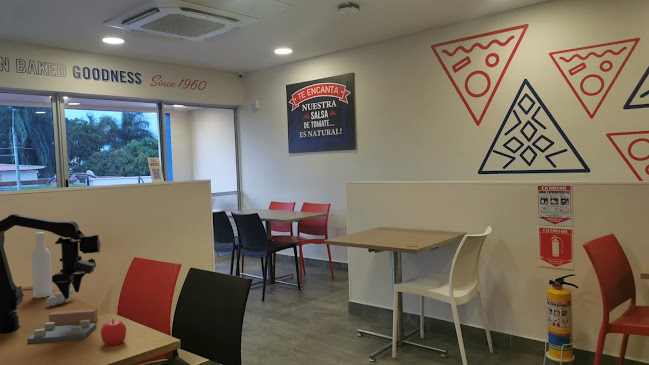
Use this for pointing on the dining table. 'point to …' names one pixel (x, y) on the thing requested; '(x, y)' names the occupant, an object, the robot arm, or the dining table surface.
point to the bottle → (41, 268)
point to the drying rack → (62, 332)
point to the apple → (113, 332)
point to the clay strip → (73, 316)
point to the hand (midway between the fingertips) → (72, 295)
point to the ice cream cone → (57, 298)
